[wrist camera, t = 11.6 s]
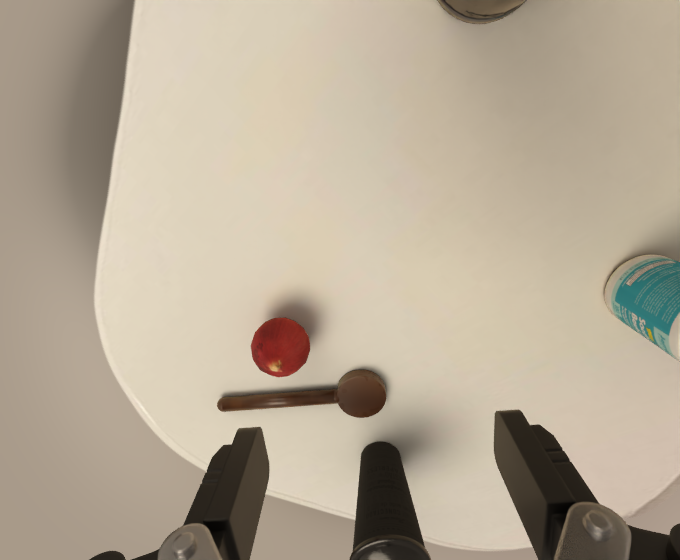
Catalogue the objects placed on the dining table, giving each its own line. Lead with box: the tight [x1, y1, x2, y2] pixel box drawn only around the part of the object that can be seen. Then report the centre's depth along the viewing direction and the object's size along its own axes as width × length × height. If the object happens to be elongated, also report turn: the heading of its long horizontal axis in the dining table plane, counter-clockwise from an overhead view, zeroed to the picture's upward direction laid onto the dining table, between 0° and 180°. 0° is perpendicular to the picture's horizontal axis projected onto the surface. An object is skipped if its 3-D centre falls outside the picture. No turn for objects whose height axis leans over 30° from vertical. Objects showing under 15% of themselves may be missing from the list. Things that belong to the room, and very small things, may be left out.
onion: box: [251, 318, 310, 377], centre depth 40 cm, size 6×6×8 cm
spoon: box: [217, 370, 386, 418], centre depth 46 cm, size 6×20×2 cm, turn 96°
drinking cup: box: [350, 442, 431, 560], centre depth 40 cm, size 8×8×20 cm
